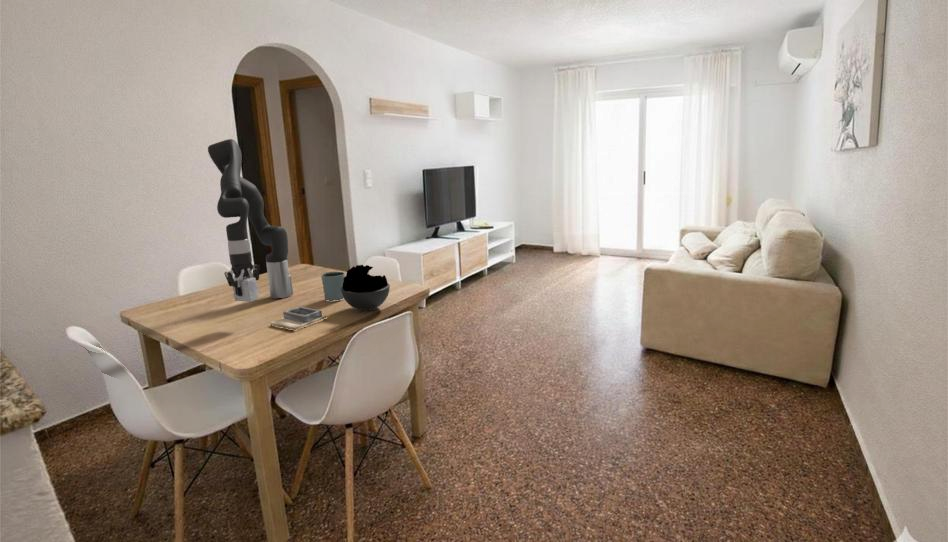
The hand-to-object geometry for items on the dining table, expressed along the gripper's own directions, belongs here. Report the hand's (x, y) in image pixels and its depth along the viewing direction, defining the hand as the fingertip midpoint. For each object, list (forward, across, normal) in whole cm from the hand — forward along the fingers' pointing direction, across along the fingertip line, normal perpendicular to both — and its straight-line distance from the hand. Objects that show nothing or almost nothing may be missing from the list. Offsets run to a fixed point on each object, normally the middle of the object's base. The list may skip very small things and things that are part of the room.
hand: (246, 293), depth 191 cm
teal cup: (+13, -40, +5) cm, 43 cm away
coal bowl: (+13, -35, +29) cm, 47 cm away
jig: (+13, -10, +16) cm, 23 cm away
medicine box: (+3, 0, 0) cm, 3 cm away
